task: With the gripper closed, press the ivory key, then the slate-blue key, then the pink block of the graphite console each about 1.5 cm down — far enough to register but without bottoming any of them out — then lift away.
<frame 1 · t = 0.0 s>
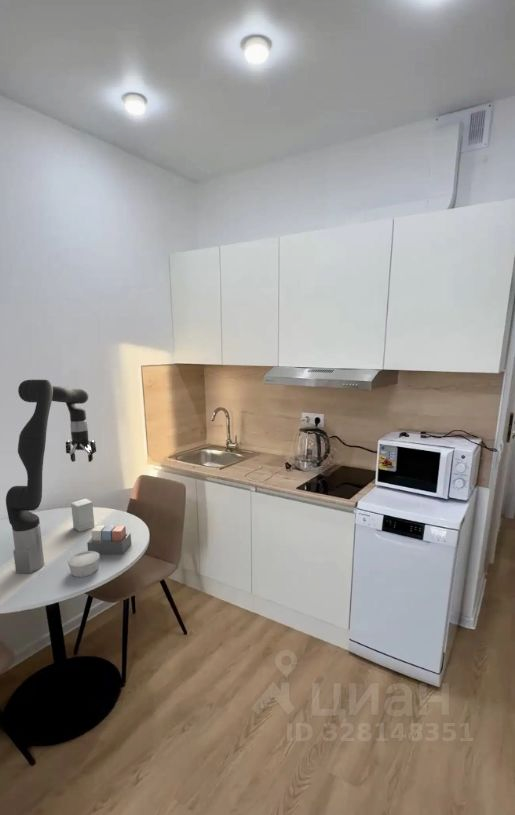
hand: (82, 461, 193), 29 cm above the table, fingers open, 8 cm apart
console: (110, 548, 167), on the table
slate blue key: (109, 533, 166), point 7 cm above the table, slide at 0.0 cm
pink block: (119, 533, 165), point 7 cm above the table, slide at 0.0 cm
supplement box: (84, 527, 187), on the table
ramekin: (85, 571, 151), on the table
ivory key: (99, 533, 166), point 7 cm above the table, slide at 0.0 cm
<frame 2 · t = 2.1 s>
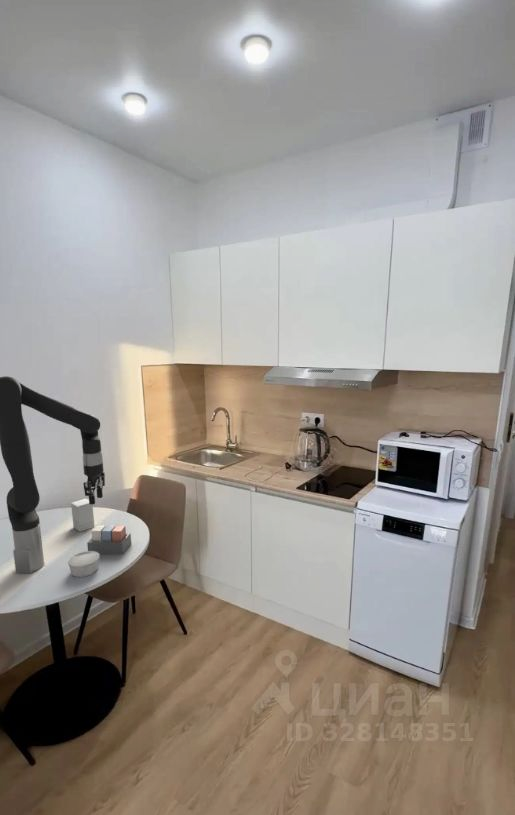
hand: (96, 500, 164), 22 cm above the table, fingers open, 6 cm apart
nothing on the table moved.
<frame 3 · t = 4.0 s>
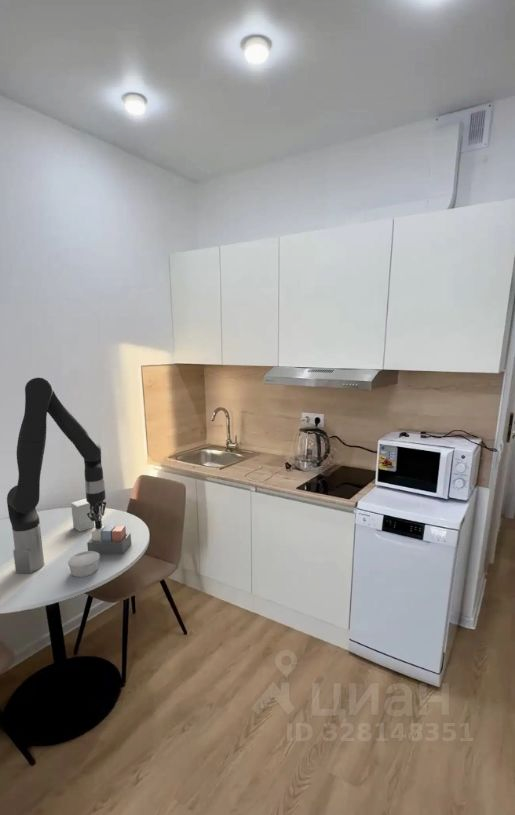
hand: (98, 527, 166), 9 cm above the table, fingers closed
ivory key: (99, 533, 166), point 7 cm above the table, slide at 0.1 cm, touching gripper
everything else where it was.
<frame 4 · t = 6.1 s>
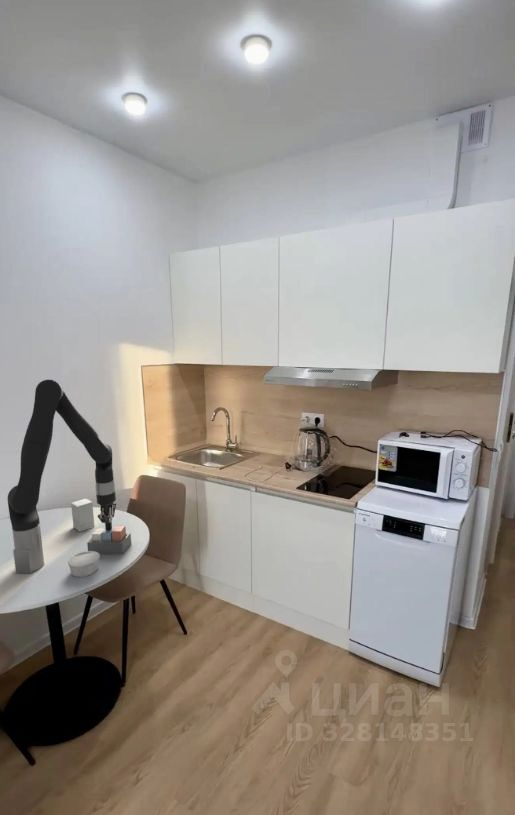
hand: (109, 529, 166), 9 cm above the table, fingers closed
slate blue key: (109, 535, 166), point 6 cm above the table, slide at 0.7 cm, touching gripper
ivory key: (99, 536, 166), point 5 cm above the table, slide at 1.5 cm
everything else where it was.
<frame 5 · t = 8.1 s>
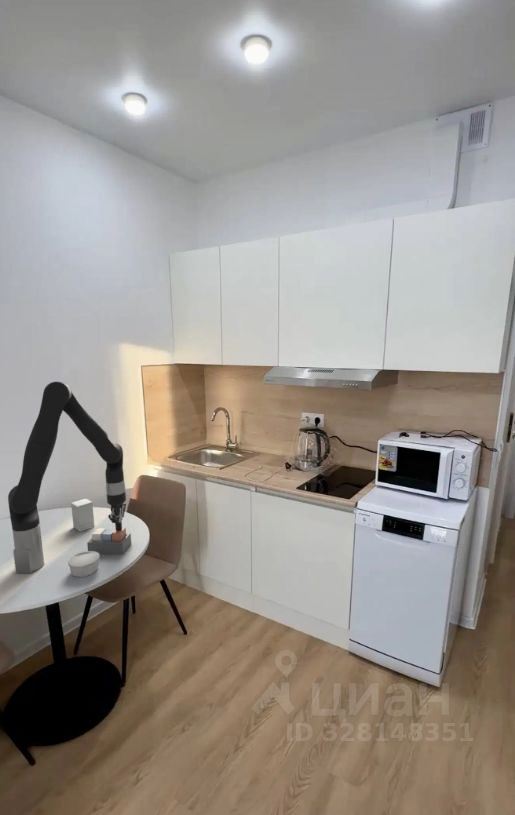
hand: (119, 529, 165), 9 cm above the table, fingers closed
slate blue key: (109, 536, 166), point 5 cm above the table, slide at 1.4 cm
pink block: (119, 535, 166), point 6 cm above the table, slide at 0.7 cm, touching gripper
everything else where it was.
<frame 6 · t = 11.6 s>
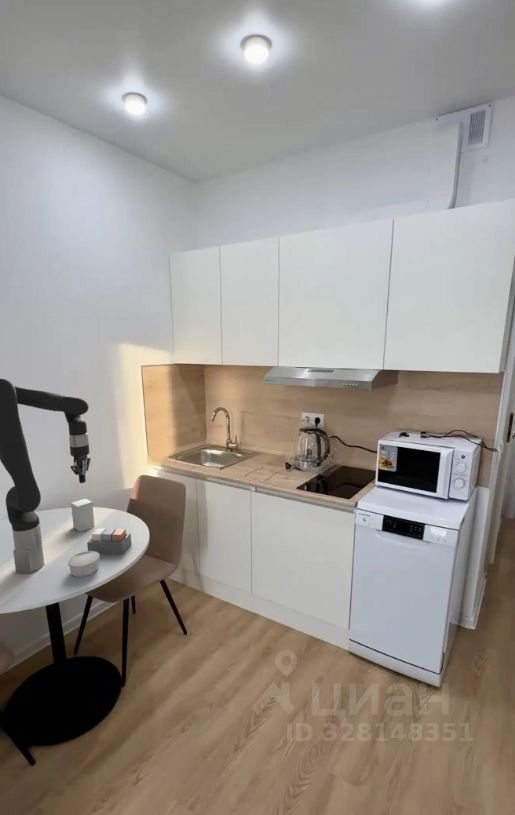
hand: (82, 482, 170), 27 cm above the table, fingers closed
pink block: (119, 537, 166), point 5 cm above the table, slide at 1.4 cm
everything else where it was.
at the end: ivory key slide at 1.5 cm; slate blue key slide at 1.4 cm; pink block slide at 1.4 cm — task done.
